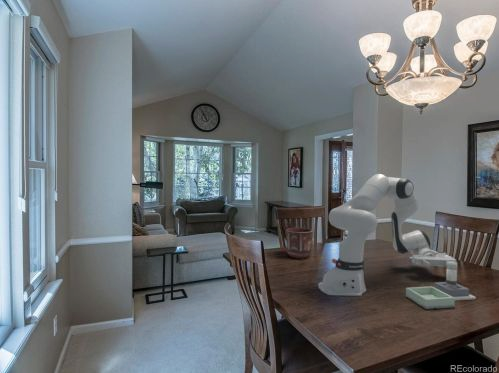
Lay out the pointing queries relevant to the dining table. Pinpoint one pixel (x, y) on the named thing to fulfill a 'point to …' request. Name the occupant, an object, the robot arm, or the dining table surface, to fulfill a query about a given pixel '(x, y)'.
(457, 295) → the fuse board
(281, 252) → the dining table surface
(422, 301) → the parts tray
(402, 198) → the robot arm
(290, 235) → the pottery
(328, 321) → the dining table surface
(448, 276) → the cylinder
